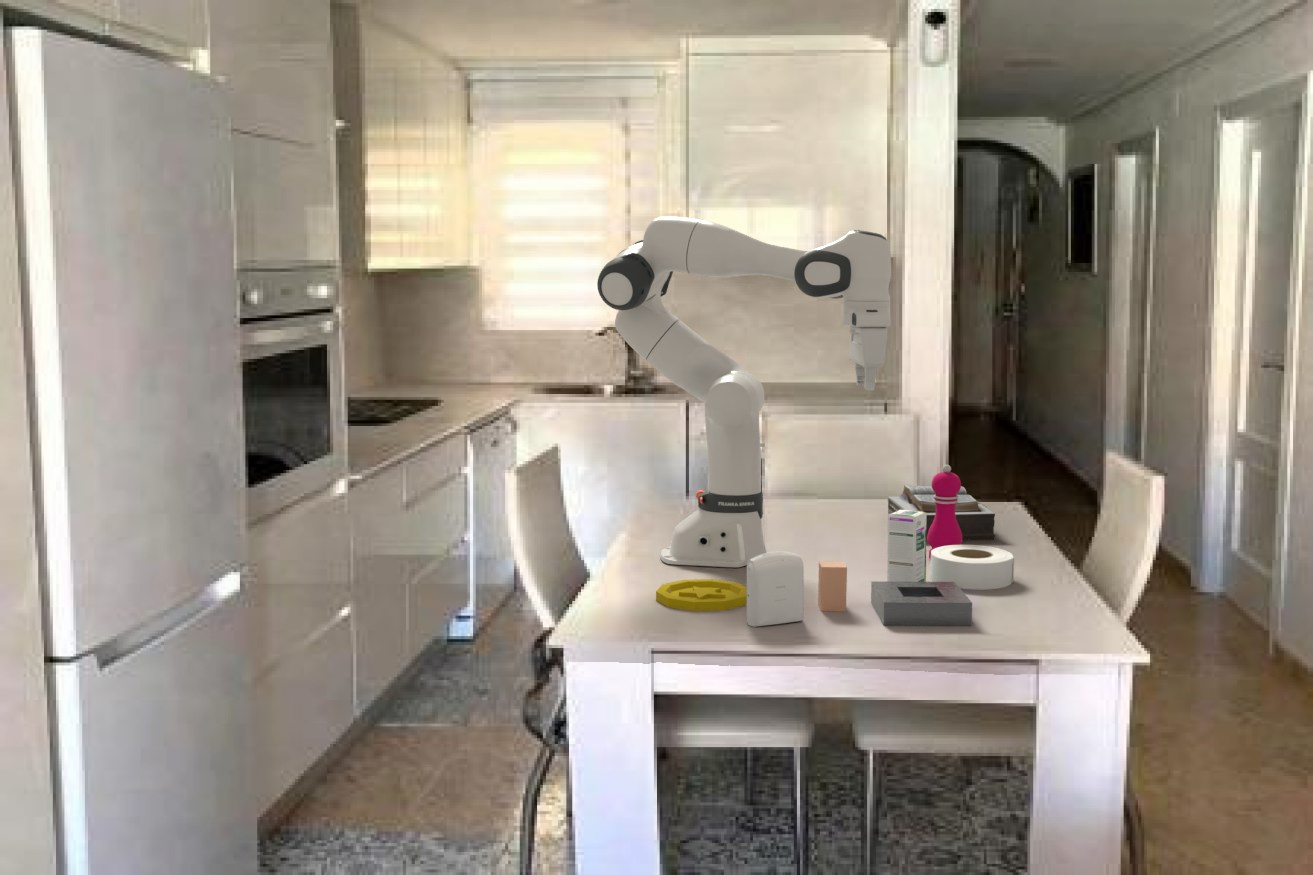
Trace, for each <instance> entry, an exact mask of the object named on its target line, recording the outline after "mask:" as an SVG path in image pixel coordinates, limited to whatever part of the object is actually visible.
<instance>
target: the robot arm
mask: <svg viewBox="0 0 1313 875" xmlns="http://www.w3.org/2000/svg"><path fill="white" fill-rule="evenodd" d="M891 258H892V256H891V247H890V243H889V240H888V239H887V237H886V236H884V235H882V233H881V234H880V233H877V232H871V231H869V230H868V231H867V230H861V229H854V230H853V229H852V230H849V231H848V232H847V233H846V234H845V235H844V236H842V237H840V238H839V239H837V240H835V241H833V242H830V243H828V244H826V245H822V246H819V247H816V248H813V249H810V250H809V251H805V250H801V249H800V250H799V249H795V248H789V247H784V246H780V245H776V244H775V245H774V244H771V243H766V242H763V241H762V240H761V241H760V240H758V239H756V238H754V237H751V236H749V235H747V234H744V233H742V232H741V231H737V230H735V229H733V228H730V227H728V226H725V225H722V224H720V223H716V222H713V221H709V220H704V219H698V218H693V217H685V216H684V217H683V216H659V217H657V218H654V219H653V220H652V221H650V223H649V224H648V226H646V229H645V231H644V234H643V239H642V240H638V241H636V242H635V243H633V244H632V245H630V246H628V247H626V248H625V249H622V250H620V252H618V253H617V255H616V256H615V257H613V259H611V260H610V261H609V262H606V264H605V265H604V266H603V268H602V269H601V271H600V273H599V275H598V278H597V281H596V282H597V285H596V286H597V291H598V294H599V296H600V298H601V300H602V301H603V302H604V303H605V304H606V305H607V306H608V307H609V308H612V309H614V310H617V313H616V316H615V321H614V324H615V325H614V327H615V329H616V331H617V333H618V334H619V336H621V337H622V339H623V340H624V341H625V343H626V344H628V345H629V347H630V348H632V349H633V351H634V352H635V353H636V354H638V355H639V356H640V357H641V358H642V359H643V360H645V361H646V362H647V363H648V364H650V365H651V367H653V368H654V369H655V370H657V371H658V372H659V373H661V375H663V376H664V377H665V378H667V379H668V380H669V381H670V382H671V383H673V384H674V385H675V386H677V387H678V388H681V389H682V390H684V391H685V392H687V393H688V394H690V395H692V396H693V397H695V398H696V399H698V400H699V401H700V402H702V403H704V418H705V419H704V420H705V432H706V443H707V463H708V464H707V490H706V491H704V490H703V489H699V490H697V491H696V493H695V497H696V499H697V507H698V509H697V510H694V512H693V513H691V514H690V515H689V516H687V517H685V519H683V520H682V521H680V522H679V523H677V525H676V526H675V528H674V530H673V532H672V535H671V541H670V545H669V546H666V547H664V548H662V550H661V551H660V560H661V561H662V562H663V563H665V564H668V565H676V566H677V565H679V566H701V567H716V568H717V567H720V568H741V567H744V566H745V567H746V566H747V563H748V561H749V560H750V559H752V558H754V557H756V556H758V555H761V554H764V553H768V552H767V549H766V544H765V540H764V539H765V537H764V532H763V524H762V523H763V522H762V520H763V515H764V492H763V491H762V451H761V450H762V449H761V436H760V434H761V433H760V432H761V431H760V411H761V410H762V408H763V405H764V403H765V388H764V386H763V384H762V383H761V381H760V380H759V379H758V377H756V376H755V374H752V373H751V372H750V371H749V370H747V369H746V368H744V367H743V366H742V365H741V364H739V363H738V362H737V361H735V360H734V359H732V358H731V357H729V356H728V355H726V354H725V353H724V352H722V351H721V350H719V349H718V348H716V347H715V346H714V345H712V344H711V343H709V341H707V340H705V338H703V337H702V336H700V334H698V333H697V332H695V330H693V329H691V328H690V327H689V326H688V324H685V323H684V322H683V321H682V320H681V319H680V318H678V317H677V316H675V315H674V313H671V311H669V309H667V308H666V307H665V306H664V304H663V302H662V299H661V298H662V297H663V296H665V295H666V294H667V292H668V288H669V284H670V281H671V279H672V276H673V274H674V272H676V273H681V274H687V275H692V276H696V277H703V278H713V279H715V278H716V279H719V278H720V279H723V278H724V279H725V278H735V277H743V276H766V277H772V278H777V279H781V280H788V281H792V282H795V284H796V286H797V287H798V289H799V290H800V291H801V292H802V293H803V294H805V295H807V296H808V297H811V298H813V299H834V300H835V299H842V298H843V321H842V322H843V325H844V326H849V348H848V349H849V351H848V353H849V360H850V362H853V363H855V364H854V369H855V370H854V371H855V374H856V375H855V376H856V378H855V379H856V383H855V384H856V385H857V386H858V387H863V389H864V390H865V391H868V392H871V391H872V392H873V391H874V390H875V389H876V384H875V383H876V378H877V374H878V373H877V372H878V369H879V368H880V369H881V368H883V366H884V364H885V361H886V354H887V353H886V351H887V342H888V328H891V325H892V321H891V320H892V317H891V295H890V292H889V290H890V289H889V286H890V282H891V279H892V259H891Z"/></svg>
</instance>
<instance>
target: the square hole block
mask: <svg viewBox="0 0 1313 875" xmlns="http://www.w3.org/2000/svg"><path fill="white" fill-rule="evenodd" d="M870 583H871V592H870V603H871V605H872V607H873V609H874V611H875V613H876V614H877V616H878V618H879V620H880V622H881V623H882V626H940V627H941V626H949V627H950V626H951V627H952V626H953V627H954V626H956V627H957V626H958V627H959V626H960V627H962V626H963V627H964V626H965V627H966V626H968V627H971V626H972V624H973V622H972V621H973V620H972V619H973V618H972V617H973V602H972V601H971V600H970V599H969V598H968V596H967V595H966V594H965V592H964V591H962V590H963V589H962V588H959V587H958V586H957V585H956V583H955V582H933V581H926V582H887V581H877V580H876V581H871V582H870Z"/></svg>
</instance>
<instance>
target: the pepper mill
mask: <svg viewBox="0 0 1313 875" xmlns="http://www.w3.org/2000/svg"><path fill="white" fill-rule="evenodd" d="M941 469H942V471H941V472H938V473H936V474H935V475H934V476H933V477H932V481H931V486H932V489H933V490H934V492H935V493H936V494H935V495H934V502H936V514H935V518H934V520H933V523H932V525H931V527H930V528H929V531H928V535H927V541H926V542H927V543H928V544H929V546H930V547H931V548H930V549H929V550H928V558H929V560H930V561H931V551H932V550H933V549H935V548H938V547H942V546H948V545H962V543H963V540H962V533H961V530H960V527H959V525H958V523H957V520H956V516H955V507H956V503H958V499H957V498H958V496H957V493H958V492H959V490H960V488H961V486H962V482H961V479H960V477H959V475H957V474H956V473H954V472H951V471H952V467H951V465H949V464H944V465H943V466H942V468H941Z"/></svg>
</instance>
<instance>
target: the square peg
mask: <svg viewBox="0 0 1313 875" xmlns="http://www.w3.org/2000/svg"><path fill="white" fill-rule="evenodd" d="M847 575H848V567H847V565H846V562H845V561H818V585H817V586H818V590H817V591H818V594H817V596H818V597H817V600H818V601H817V605H818V608H819V610H820V612H847V588H848V587H847V586H848V585H847V584H848V583H847V582H848V579H847V578H848V576H847Z"/></svg>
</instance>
